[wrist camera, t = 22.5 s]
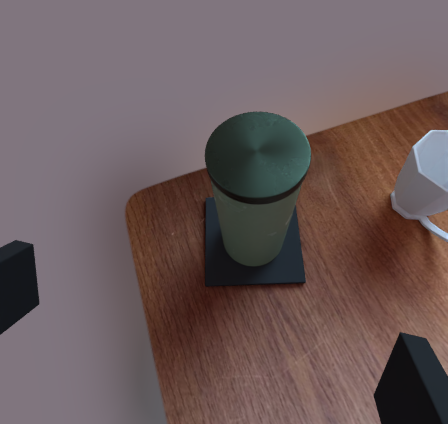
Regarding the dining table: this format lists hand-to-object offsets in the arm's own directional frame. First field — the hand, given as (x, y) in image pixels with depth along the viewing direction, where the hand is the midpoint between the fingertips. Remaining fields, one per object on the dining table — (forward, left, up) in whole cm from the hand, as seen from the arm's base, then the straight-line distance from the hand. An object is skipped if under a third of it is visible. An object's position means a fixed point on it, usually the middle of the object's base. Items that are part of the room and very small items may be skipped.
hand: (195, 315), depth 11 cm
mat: (+3, +10, -20) cm, 23 cm away
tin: (+3, +10, -19) cm, 22 cm away
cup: (+21, +12, -20) cm, 31 cm away
